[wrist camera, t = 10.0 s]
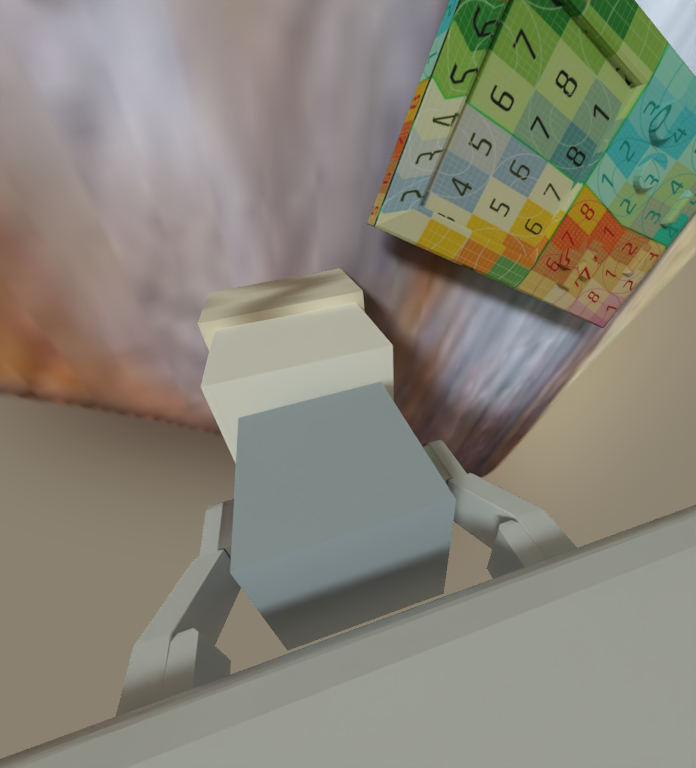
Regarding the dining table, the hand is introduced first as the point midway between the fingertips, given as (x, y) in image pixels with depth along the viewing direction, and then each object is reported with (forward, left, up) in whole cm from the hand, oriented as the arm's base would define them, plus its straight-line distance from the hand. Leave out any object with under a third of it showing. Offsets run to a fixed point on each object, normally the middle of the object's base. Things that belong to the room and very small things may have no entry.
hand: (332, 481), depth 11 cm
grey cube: (0, 0, -2) cm, 2 cm away
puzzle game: (-17, -7, -13) cm, 22 cm away
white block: (0, 0, -8) cm, 8 cm away
